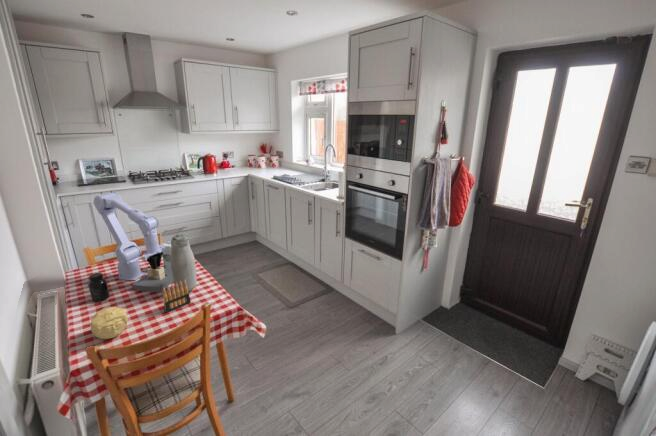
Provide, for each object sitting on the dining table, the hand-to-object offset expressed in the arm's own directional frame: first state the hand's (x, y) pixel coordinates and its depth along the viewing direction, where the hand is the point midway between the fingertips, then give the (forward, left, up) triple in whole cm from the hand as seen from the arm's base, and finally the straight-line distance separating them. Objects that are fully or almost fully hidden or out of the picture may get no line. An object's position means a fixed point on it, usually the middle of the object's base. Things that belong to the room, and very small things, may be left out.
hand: (156, 267), depth 159 cm
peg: (0, 0, -7) cm, 7 cm away
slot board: (0, 0, -8) cm, 8 cm away
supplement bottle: (-16, -18, -8) cm, 25 cm away
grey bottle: (+18, -5, -8) cm, 20 cm away
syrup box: (-2, +15, -8) cm, 17 cm away
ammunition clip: (+22, -19, -8) cm, 30 cm away
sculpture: (+7, -39, -8) cm, 40 cm away
